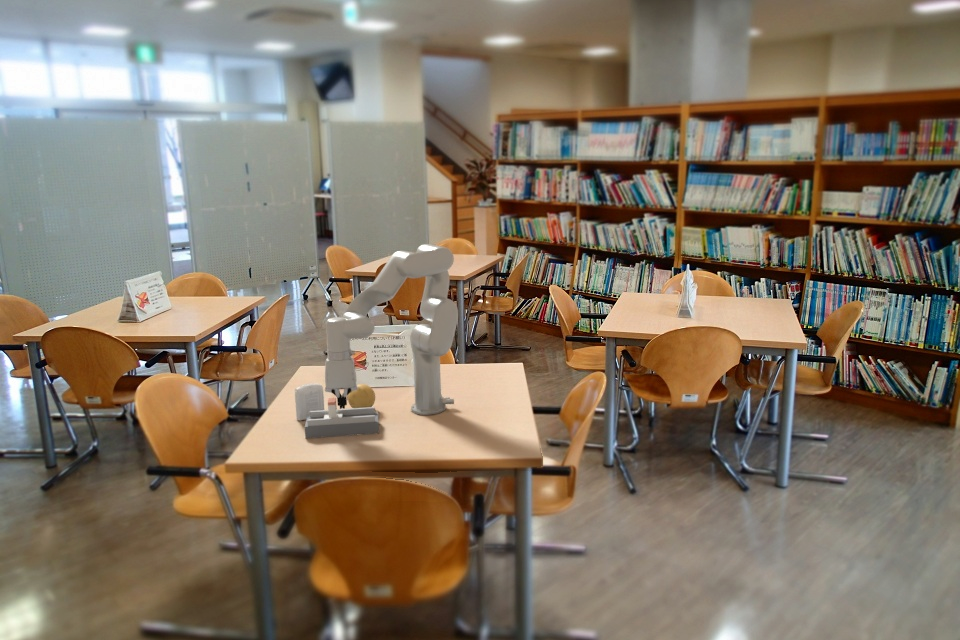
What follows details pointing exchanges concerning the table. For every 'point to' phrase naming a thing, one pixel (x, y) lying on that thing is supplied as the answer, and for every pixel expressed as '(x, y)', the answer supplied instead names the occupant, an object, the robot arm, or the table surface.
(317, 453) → the table surface
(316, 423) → the gray slider track
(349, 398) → the stress ball
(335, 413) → the knob
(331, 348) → the robot arm
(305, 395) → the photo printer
